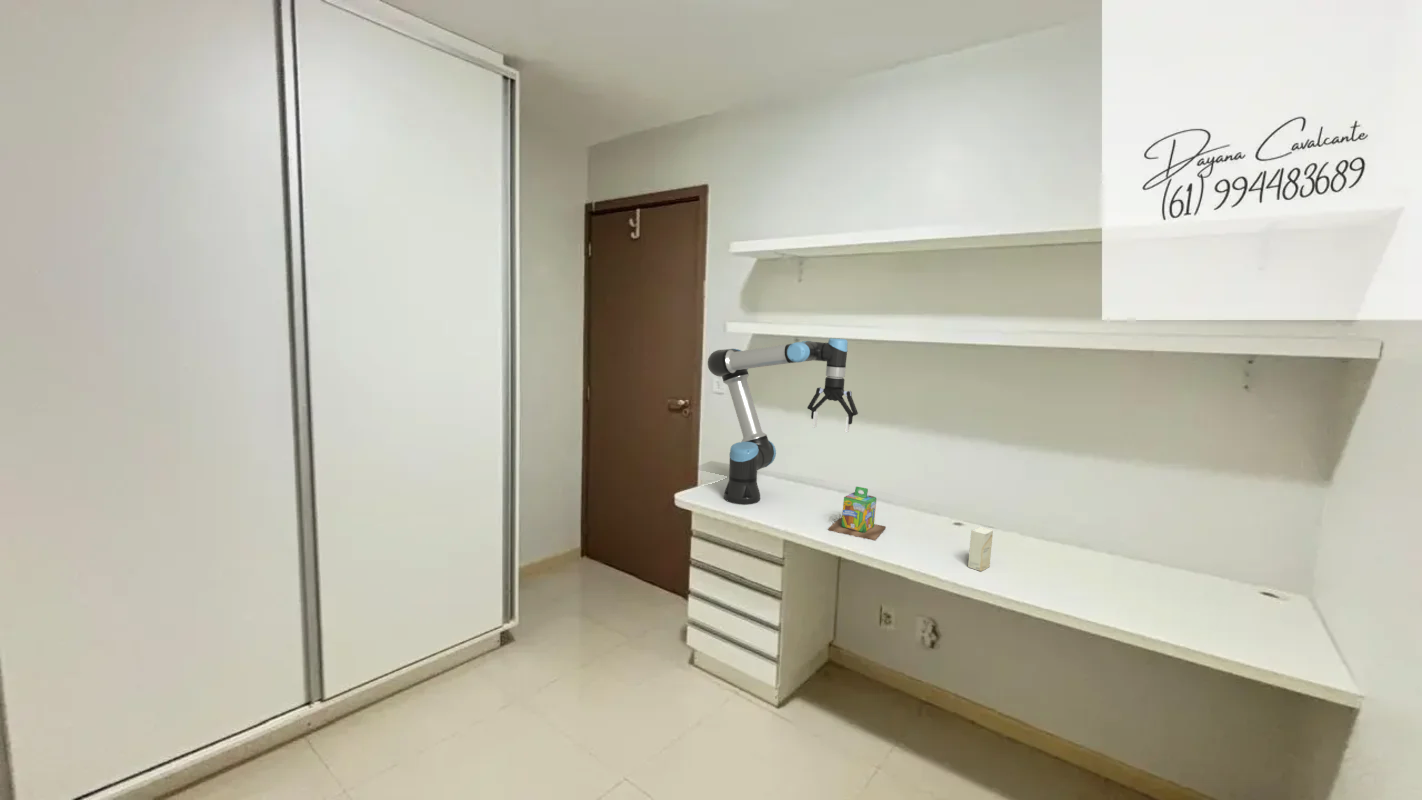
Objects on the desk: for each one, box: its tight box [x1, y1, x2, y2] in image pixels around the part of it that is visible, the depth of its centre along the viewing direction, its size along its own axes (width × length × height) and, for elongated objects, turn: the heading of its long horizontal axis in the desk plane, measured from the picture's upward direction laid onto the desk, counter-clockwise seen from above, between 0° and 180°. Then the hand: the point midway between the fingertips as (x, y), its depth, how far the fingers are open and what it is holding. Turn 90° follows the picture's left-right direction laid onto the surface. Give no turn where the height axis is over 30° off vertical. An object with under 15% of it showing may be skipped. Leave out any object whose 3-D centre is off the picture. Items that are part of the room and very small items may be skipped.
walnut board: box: [828, 516, 887, 541], centre depth 215 cm, size 17×14×1 cm
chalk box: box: [841, 486, 877, 533], centre depth 213 cm, size 9×9×15 cm
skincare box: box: [967, 526, 994, 572], centre depth 184 cm, size 6×4×12 cm
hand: (830, 429), depth 237 cm, fingers open, 13 cm apart
